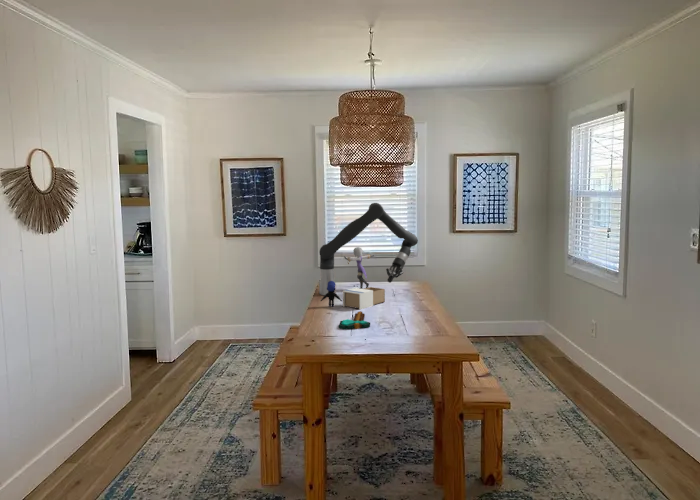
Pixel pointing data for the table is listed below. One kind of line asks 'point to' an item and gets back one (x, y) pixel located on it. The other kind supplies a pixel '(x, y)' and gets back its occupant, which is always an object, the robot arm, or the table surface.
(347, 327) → the toy
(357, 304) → the wooden drawer
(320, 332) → the table surface
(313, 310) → the table surface
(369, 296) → the sleeve
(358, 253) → the figurine
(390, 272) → the robot arm
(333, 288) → the toy
